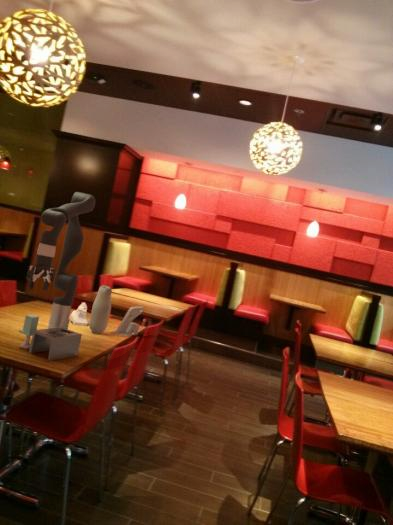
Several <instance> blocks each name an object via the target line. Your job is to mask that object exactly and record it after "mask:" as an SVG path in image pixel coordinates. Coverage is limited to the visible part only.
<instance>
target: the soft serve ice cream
mask: <svg viewBox="0 0 393 525" xmlns="http://www.w3.org/2000/svg"><path fill="white" fill-rule="evenodd" d="M87 310H88V306H87V303H86V302H81V304H80V305H78V308H77V309H76V310H75V309H74V310H73V311H72V312H70V315H69V319H70V320H71V322H72V324H73V325H76V326H82V325H83V326H84V327H88V326H87V325H89V323H90V319H89V318H88V312H87Z"/></svg>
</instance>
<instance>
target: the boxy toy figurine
mask: <svg viewBox="0 0 393 525" xmlns="http://www.w3.org/2000/svg"><path fill="white" fill-rule="evenodd" d="M39 318H40V316H37V315H35V314H26V315H25V318H24V322H23V327H22V329H19V330H18V332H19V333H20V334H23V335H25V340H24V342H21V344H20V348H21V349H25V350H30V345H31V343H30V342H31V341H30V340H31V337H32V336H33V331H34V330H38V324H39Z"/></svg>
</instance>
